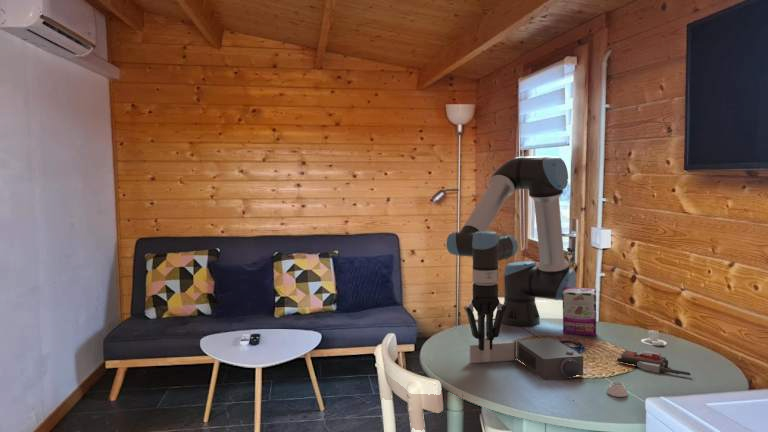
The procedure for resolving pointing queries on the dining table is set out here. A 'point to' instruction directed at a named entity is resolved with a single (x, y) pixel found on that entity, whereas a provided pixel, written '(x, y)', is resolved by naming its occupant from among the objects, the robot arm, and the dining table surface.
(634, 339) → the dining table surface
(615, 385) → the pink dome
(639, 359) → the walkie-talkie
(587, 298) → the candy bar box
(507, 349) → the side door
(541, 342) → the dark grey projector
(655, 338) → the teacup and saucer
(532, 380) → the dining table surface
